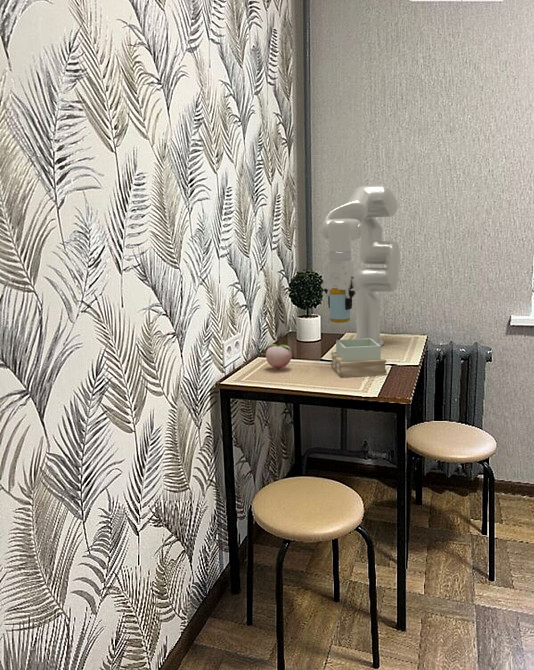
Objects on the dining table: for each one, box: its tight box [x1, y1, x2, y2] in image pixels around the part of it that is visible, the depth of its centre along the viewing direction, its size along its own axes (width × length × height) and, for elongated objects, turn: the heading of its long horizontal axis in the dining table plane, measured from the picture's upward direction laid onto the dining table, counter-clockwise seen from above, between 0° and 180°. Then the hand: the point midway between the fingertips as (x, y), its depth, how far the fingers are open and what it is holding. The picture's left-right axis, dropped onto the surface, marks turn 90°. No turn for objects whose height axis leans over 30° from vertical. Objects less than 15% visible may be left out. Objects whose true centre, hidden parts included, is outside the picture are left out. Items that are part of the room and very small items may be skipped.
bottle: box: [329, 279, 351, 324], centre depth 214 cm, size 7×7×15 cm
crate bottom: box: [330, 351, 387, 378], centre depth 215 cm, size 16×16×5 cm
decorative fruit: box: [265, 341, 292, 370], centre depth 218 cm, size 9×8×10 cm
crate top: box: [335, 338, 382, 362], centre depth 214 cm, size 13×13×5 cm
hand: (340, 307), depth 215 cm, fingers closed on bottle, 6 cm apart
